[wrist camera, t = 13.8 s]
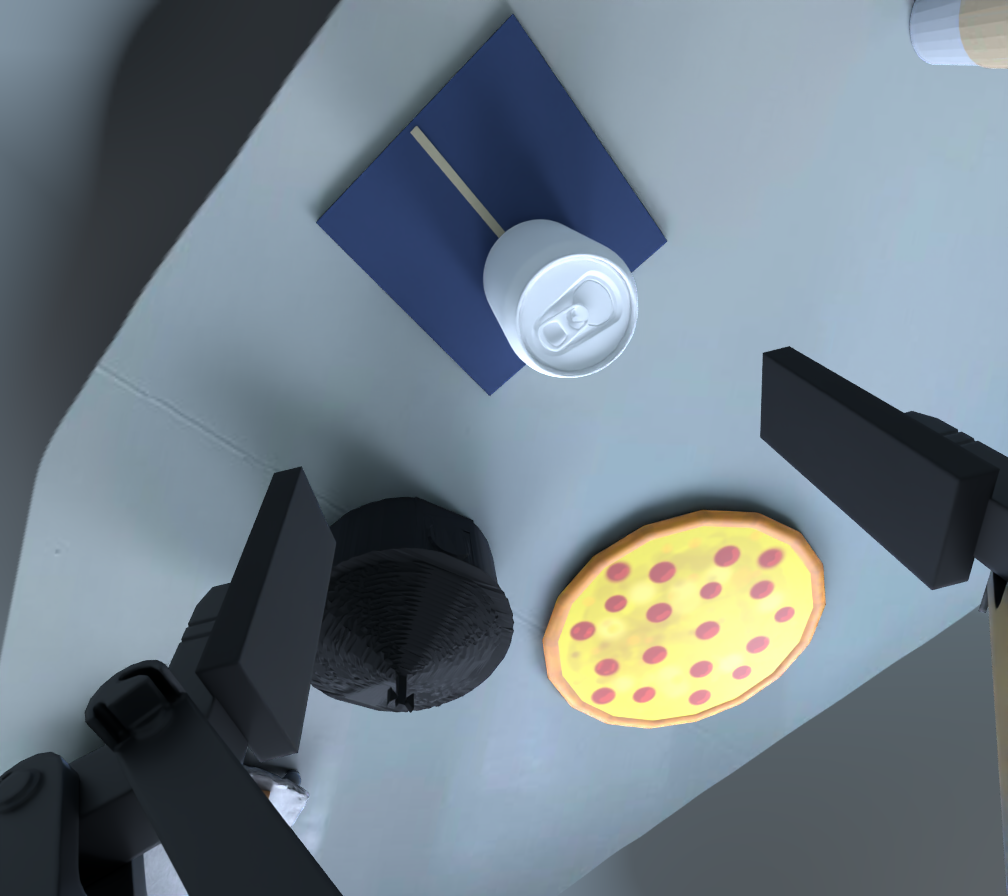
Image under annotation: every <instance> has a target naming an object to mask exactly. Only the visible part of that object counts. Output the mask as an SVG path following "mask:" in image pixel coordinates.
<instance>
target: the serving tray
mask: <svg viewBox="0 0 1008 896" xmlns="http://www.w3.org/2000/svg"><path fill="white" fill-rule="evenodd" d="M243 766H244V768H245V769H246V770H247V772H248V773H249V774H250V776H251V777H252V778H253V779H254V781H255V782H256V783H257V785H258V786H259V787H260V789H261V790H262V791H263V792H264V794H265V795H266V796H267V798H268V799H269V800H270V802H271V803H272V804H273V805H274V807H275V808H276V809H277V811H278V812H279V813H280V815H281V816H282V817H283V818H284V820H285V821H286V822H287V824H288V825H289V826H290V828H291V827H292V826H293V824H294V822H295V821H296V820H297V818H298V816H299V814H300V812H301V811H302V809H303V808H304V807H305V805H306V803H307V801H308V798H309V793H308V792H307V791H306V790H305V789H303V788H302V787H300V783H301V778H300V775H299V772H298V771H296V770H290V771H288V772H287V774H286V775H285V776H284V777H283V778H281V777H279V776H278V775H275V774H273V773H270V772H268V771H265V770H263V769H260V768H255V767H251V766H247V765H244V764H243ZM143 856H144V867H145V878H146V890H147V896H189V895H188V893H187V891H186V889H185V888H184V886H183V884H182V882H181V880H180V878H179V876H178V874H177V872H176V870H175V869H174V867H173V865H172V863H171V861H170V859H169V857H168V855H167V853H166V852H165V850H164V848H163V846H162V844H159V845H158V846H156V847H154V848H152V849H151V850H149V851H147V852H145V853H144V854H143Z"/></svg>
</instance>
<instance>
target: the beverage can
mask: <svg viewBox="0 0 1008 896" xmlns="http://www.w3.org/2000/svg"><path fill="white" fill-rule="evenodd" d="M483 285H484V291H485V295H486V298H487V301H488V303H489V305H490V307H491V309H492V311H493V313H494V315H495V317H496V318H497V320H498V322H499V324H500V326H501V328H502V330H503V332H504V334H505V336H506V338H507V340H508V342H509V343H510V345H511V347H512V349H513V350H514V352H515V353H516V354H517V356H518V357H519V358H520V359H521V360H522V361H523V362H524V363H526V364H527V365H528V366H530V367H531V368H533V369H534V370H536V371H538V372H541V373H543V374H546V375H550V376H555V377H569V378H573V377H582V376H586V375H590V374H593V373H595V372H597V371H599V370H601V369H603V368H605V367H606V366H608V365H609V364H611V363H612V362H613V361H614V360H615V359H616V358H617V357H618V356H619V355H620V354H621V353H622V352H623V350H624V349H625V348H626V346H627V345H628V343H629V341H630V339H631V337H632V335H633V333H634V330H635V327H636V323H637V317H638V295H637V289H636V284H635V281H634V278H633V276H632V274H631V272H630V270H629V268H628V267H627V265H626V264H625V262H624V261H623V260H622V259H621V258H620V257H619V256H618V255H617V254H616V253H615V252H613V251H612V250H611V249H609V248H608V247H606V246H604V245H602V244H600V243H598V242H596V241H594V240H592V239H590V238H588V237H586V236H584V235H582V234H580V233H578V232H576V231H574V230H572V229H570V228H568V227H567V226H565V225H562V224H560V223H558V222H555V221H551V220H544V219H537V220H529V221H525V222H522V223H520V224H517V225H515V226H514V227H512V228H510V229H509V230H507V231H506V232H505V233H504V234H503V235H502V236H501V237H500V238H499V239H498V240H497V241H496V242H495V244H494V245H493V247H492V248H491V250H490V252H489V254H488V257H487V259H486V262H485V266H484V273H483Z"/></svg>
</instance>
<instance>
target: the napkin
mask: <svg viewBox="0 0 1008 896" xmlns="http://www.w3.org/2000/svg"><path fill="white" fill-rule="evenodd" d="M537 219H544V220H551V221H555V222H558V223H560V224H562V225H565V226H567V227H568V228H570V229H572V230H574V231H576V232H578V233H580V234H582V235H584V236H586V237H588V238H590V239H592V240H594V241H596V242H598V243H600V244H602V245H604V246H606V247H608V248H609V249H611V250H612V251H613V252H615V253H616V254H617V255H618V256H619V257H620V258H621V259H622V260H623V261H624V262H625V264H626V265H627V267H628V268H629V270H630V272H631V273H632V272H633V271H634V270H635V269H636V268H637V267H638V266H640V265H641V264H642V263H643V262H644V261H645V260H647V259H648V258H649V257H650V256H651V255H652V254H653V253H655V252H656V251H657V250H658V249H659V248H660V247H661V246H663V245H664V244H665V243H666V242H667V240H666V238H665V237H664V235H663V234H662V232H661V231H660V230H659V228H658V227H657V225H656V224H655V222H654V221H653V219H652V218H651V216H650V215H649V213H648V212H647V210H646V209H645V207H644V206H643V204H642V203H641V202H640V200H639V199H638V197H637V196H636V194H635V193H634V191H633V190H632V188H631V187H630V185H629V184H628V182H627V181H626V179H625V178H624V176H623V175H622V174H621V172H620V171H619V169H618V168H617V166H616V165H615V163H614V162H613V160H612V159H611V157H610V156H609V154H608V153H607V151H606V150H605V148H604V147H603V145H602V144H601V143H600V141H599V140H598V138H597V137H596V135H595V134H594V132H593V131H592V129H591V128H590V126H589V125H588V123H587V122H586V120H585V119H584V117H583V116H582V115H581V113H580V112H579V110H578V109H577V107H576V106H575V104H574V103H573V101H572V100H571V98H570V97H569V95H568V94H567V92H566V91H565V89H564V88H563V87H562V85H561V84H560V82H559V81H558V79H557V78H556V76H555V75H554V73H553V72H552V70H551V69H550V67H549V66H548V64H547V63H546V61H545V60H544V59H543V57H542V56H541V54H540V53H539V51H538V50H537V48H536V47H535V45H534V44H533V42H532V41H531V39H530V38H529V36H528V35H527V33H526V32H525V30H524V29H523V28H522V26H521V25H520V23H519V22H518V20H517V19H516V17H515V16H514V14H512V15H511V16H510V17H509V18H508V19H507V20H506V21H505V22H504V24H503V25H502V26H501V27H500V28H499V29H498V30H497V31H496V32H495V33H494V34H493V35H492V36H491V37H490V38H489V39H488V41H487V42H486V43H485V44H484V45H483V46H482V47H481V48H480V49H479V50H478V51H477V52H476V53H475V54H474V55H473V56H472V57H471V59H470V60H469V61H468V62H467V63H466V64H465V65H464V66H463V67H462V68H461V69H460V70H459V71H458V72H457V73H456V74H455V75H454V77H453V78H452V79H451V80H450V81H449V82H448V83H447V84H446V85H445V86H444V87H443V88H442V89H441V90H440V91H439V92H438V94H437V95H436V96H435V97H434V98H433V99H432V100H431V101H430V102H429V103H428V104H427V105H426V106H425V107H424V108H423V109H422V110H421V112H420V113H419V114H418V115H417V116H416V117H415V118H414V119H413V120H412V121H411V122H410V123H409V124H408V125H407V126H406V127H405V128H404V130H403V131H402V132H401V133H400V134H399V135H398V136H397V137H396V138H395V139H394V140H393V141H392V142H391V143H390V144H389V145H388V147H387V148H386V149H385V150H384V151H383V152H382V153H381V154H380V155H379V156H378V157H377V158H376V159H375V160H374V161H373V162H372V163H371V165H370V166H369V167H368V168H367V169H366V170H365V171H364V172H363V173H362V174H361V175H360V176H359V177H358V178H357V179H356V180H355V181H354V183H353V184H352V185H351V186H350V187H349V188H348V189H347V190H346V191H345V192H344V193H343V194H342V195H341V196H340V197H339V198H338V200H337V201H336V202H335V203H334V204H333V205H332V206H331V207H330V208H329V209H328V210H327V211H326V212H325V213H324V214H323V215H322V216H321V218H320V219H319V220H318V221H317V222H316V223H317V224H318V225H319V226H320V227H321V228H322V229H323V230H324V231H325V232H326V233H327V234H328V235H329V236H330V237H331V238H332V239H333V240H334V241H335V242H336V243H337V244H338V245H339V246H340V247H341V248H342V249H343V250H344V251H345V252H346V253H347V254H348V255H349V256H350V257H351V258H352V259H353V260H354V261H355V262H356V263H357V264H358V265H359V266H360V267H361V268H362V269H363V270H364V271H365V272H366V273H367V274H368V275H369V276H370V277H371V278H372V279H373V280H374V281H375V282H376V283H377V284H378V285H379V286H380V287H381V288H382V289H383V290H384V291H385V292H386V293H387V294H388V295H389V296H390V297H391V298H392V299H393V300H394V301H395V302H396V303H397V304H398V305H399V306H400V307H401V308H402V309H403V310H404V311H405V312H406V313H407V314H408V315H409V316H410V317H411V318H412V319H413V320H414V321H415V322H416V323H417V324H418V325H419V326H420V327H421V328H422V329H423V330H424V331H425V332H426V333H427V334H428V335H429V336H430V337H431V338H432V339H433V340H434V341H435V342H436V343H437V344H438V345H439V346H440V347H441V348H442V349H443V350H444V351H445V352H446V353H447V354H448V355H449V356H450V357H451V358H452V359H453V360H454V361H455V362H456V363H457V364H458V365H459V366H460V367H461V368H462V369H463V370H464V371H465V372H466V373H467V374H468V375H469V376H470V377H471V378H472V379H473V380H474V381H475V382H476V383H477V384H478V385H479V386H480V387H481V388H482V389H483V390H484V391H485V392H486V393H487V394H488V395H489V396H490V395H491V394H493V393H494V392H495V391H496V390H497V389H498V388H499V387H501V386H502V385H503V384H504V383H505V382H506V381H508V380H509V379H510V378H511V377H512V376H513V375H514V374H516V373H517V372H518V371H519V370H520V369H521V368H522V367H524V366H525V365H526V363H524V362H523V361H522V360H521V359H520V358H519V357H518V356H517V354H516V353H515V352H514V350H513V349H512V347H511V345H510V343H509V342H508V340H507V338H506V336H505V334H504V332H503V330H502V328H501V326H500V324H499V322H498V320H497V318H496V317H495V315H494V313H493V311H492V309H491V307H490V305H489V303H488V301H487V298H486V295H485V291H484V285H483V273H484V266H485V262H486V259H487V257H488V254H489V252H490V250H491V248H492V247H493V245H494V244H495V242H496V241H497V240H498V239H499V238H500V237H501V236H502V235H503V234H504V233H505V232H506V231H507V230H509V229H510V228H512V227H514V226H515V225H517V224H520V223H522V222H525V221H529V220H537Z"/></svg>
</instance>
